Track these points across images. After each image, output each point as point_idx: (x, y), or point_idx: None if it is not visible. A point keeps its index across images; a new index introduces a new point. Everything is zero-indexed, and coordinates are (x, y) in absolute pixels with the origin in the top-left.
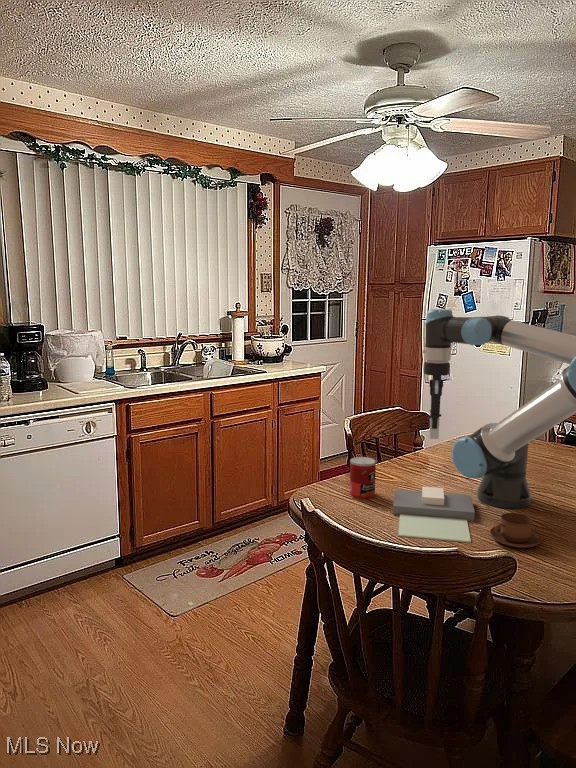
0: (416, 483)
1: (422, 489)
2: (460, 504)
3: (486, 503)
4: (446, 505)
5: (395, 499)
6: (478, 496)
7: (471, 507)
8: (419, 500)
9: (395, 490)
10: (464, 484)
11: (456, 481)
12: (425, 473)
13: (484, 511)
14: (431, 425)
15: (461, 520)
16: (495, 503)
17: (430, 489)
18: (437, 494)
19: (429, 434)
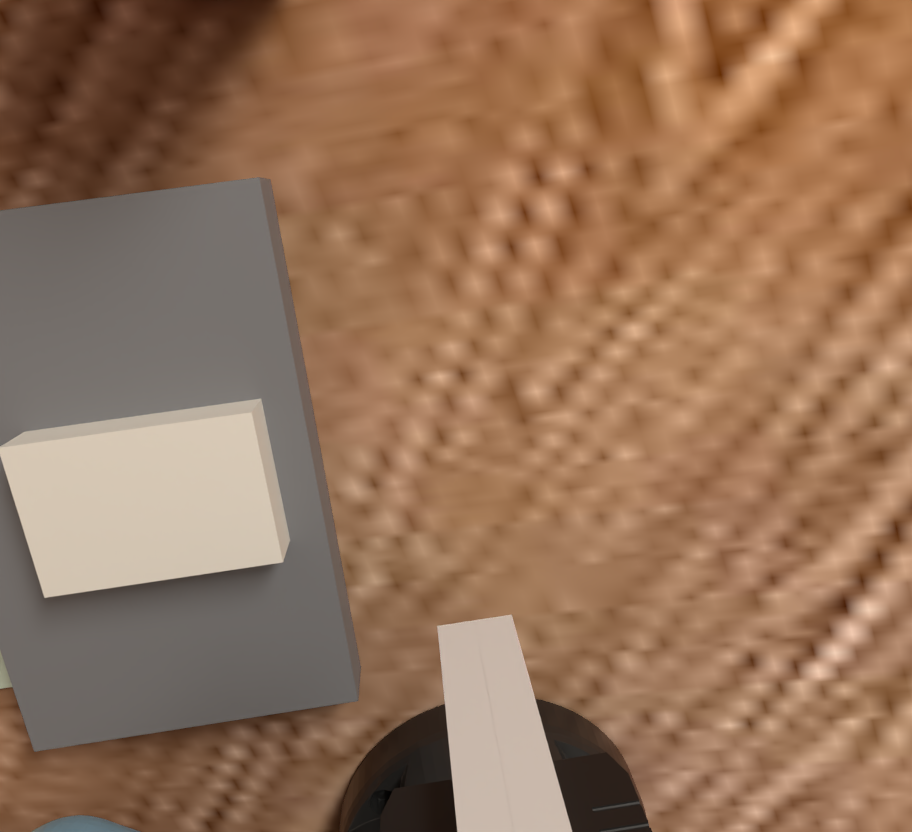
0: (643, 290)
1: (178, 422)
2: (137, 664)
3: (370, 753)
4: None
5: (13, 222)
6: (442, 715)
7: (115, 727)
8: (84, 403)
9: (229, 184)
10: (711, 603)
11: (762, 550)
12: (902, 322)
13: (247, 747)
14: (454, 804)
15: (2, 658)
16: (343, 809)
17: (207, 480)
18: (112, 543)
19: (473, 653)
